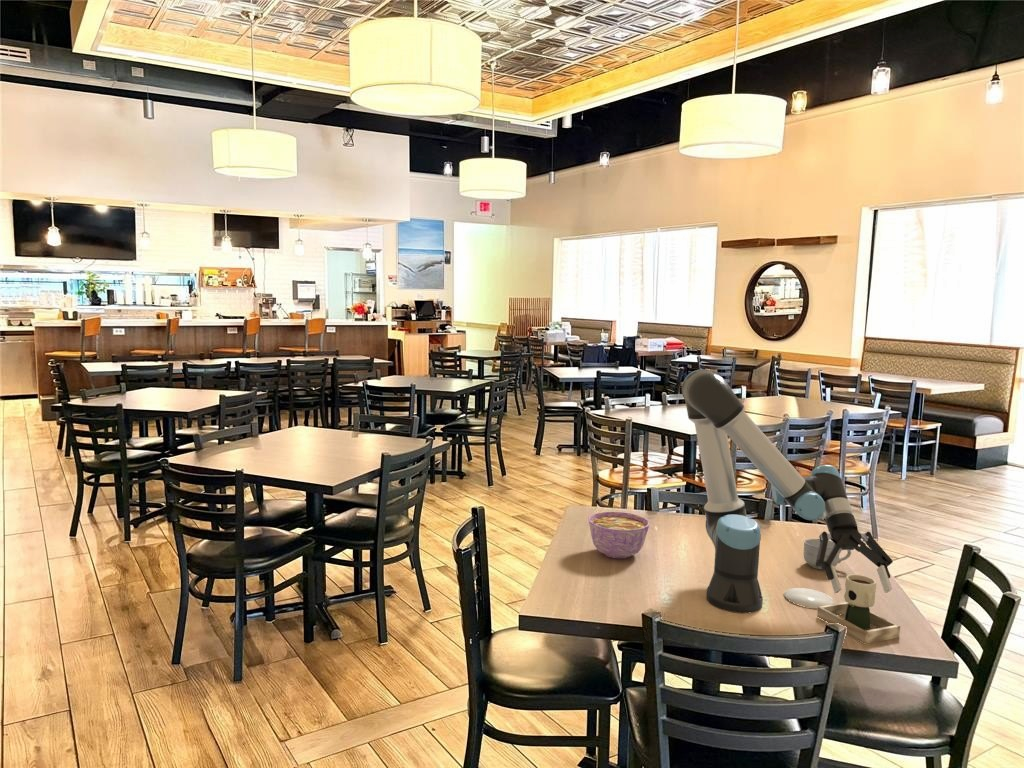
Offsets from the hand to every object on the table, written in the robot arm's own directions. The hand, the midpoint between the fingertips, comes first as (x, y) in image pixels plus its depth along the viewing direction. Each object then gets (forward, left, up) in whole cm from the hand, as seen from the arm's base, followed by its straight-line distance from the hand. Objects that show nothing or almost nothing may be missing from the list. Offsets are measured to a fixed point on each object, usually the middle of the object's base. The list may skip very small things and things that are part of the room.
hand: (863, 591), depth 186 cm
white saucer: (-2, +16, -9) cm, 19 cm away
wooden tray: (-3, -2, -9) cm, 9 cm away
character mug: (-3, -2, -9) cm, 10 cm away
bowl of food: (-37, +64, -9) cm, 75 cm away
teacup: (+22, +34, -9) cm, 42 cm away
